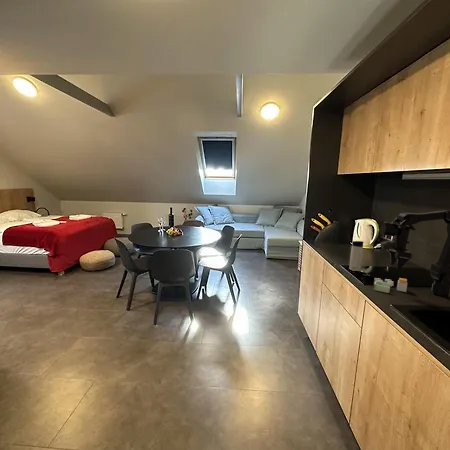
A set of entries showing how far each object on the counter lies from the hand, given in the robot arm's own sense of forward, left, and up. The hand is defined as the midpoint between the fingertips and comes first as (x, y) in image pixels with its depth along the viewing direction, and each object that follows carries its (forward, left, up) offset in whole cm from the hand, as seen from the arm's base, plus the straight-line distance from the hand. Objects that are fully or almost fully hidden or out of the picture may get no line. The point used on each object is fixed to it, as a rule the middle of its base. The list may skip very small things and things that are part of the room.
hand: (394, 267), depth 138 cm
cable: (+4, -9, -13) cm, 16 cm away
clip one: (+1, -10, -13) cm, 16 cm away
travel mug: (+20, -24, -13) cm, 34 cm away
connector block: (-5, -6, -13) cm, 15 cm away
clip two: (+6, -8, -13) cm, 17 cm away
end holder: (+4, 0, -13) cm, 14 cm away
